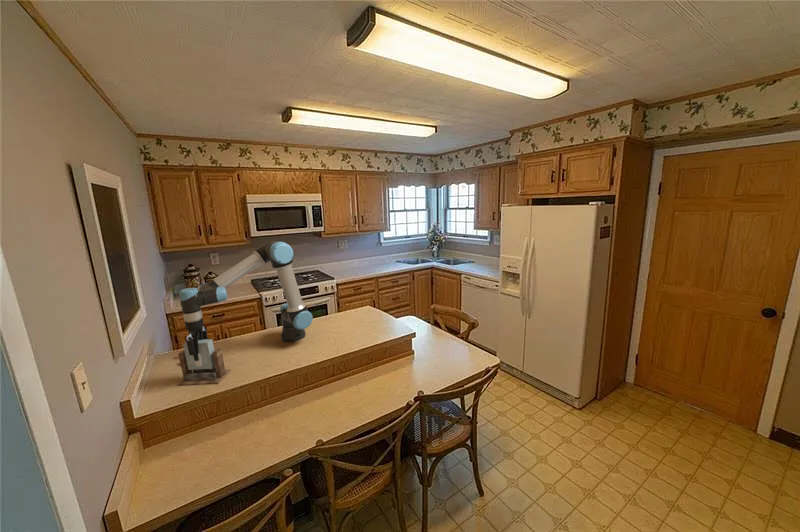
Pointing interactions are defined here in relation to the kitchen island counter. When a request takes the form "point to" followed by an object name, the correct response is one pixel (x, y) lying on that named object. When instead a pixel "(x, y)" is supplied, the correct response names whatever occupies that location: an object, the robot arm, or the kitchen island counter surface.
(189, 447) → the kitchen island counter surface
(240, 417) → the kitchen island counter surface
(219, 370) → the track frame
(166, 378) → the kitchen island counter surface
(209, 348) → the door panel
